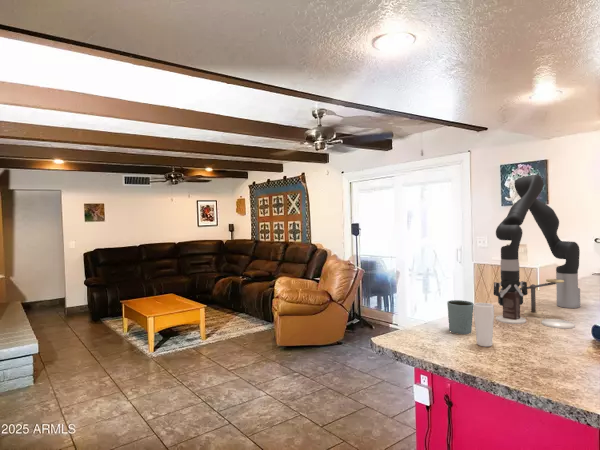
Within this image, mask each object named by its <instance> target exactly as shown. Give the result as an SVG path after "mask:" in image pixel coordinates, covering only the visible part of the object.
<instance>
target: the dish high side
mask: <svg viewBox="0 0 600 450" xmlns="http://www.w3.org/2000/svg"><path fill="white" fill-rule="evenodd" d="M541 325H543V326H545V327H549V328H554V329H574V328H576V324H575V322H573V321H569V320H564V319H558V318H545V319H544V318H543V319H541Z"/></svg>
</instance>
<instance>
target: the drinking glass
mask: <svg viewBox="0 0 600 450" xmlns="http://www.w3.org/2000/svg"><path fill="white" fill-rule="evenodd" d="M473 304H474V307H473V318H474V328H475V337H476V341H475V342H476V345H478V346H479V347H484V348H485V347H486V348H488V347H492V346H493V337H494V335H493V334H494V322H495V308H494V307H495V306H494V304H492V303H487V302H475V303H473Z"/></svg>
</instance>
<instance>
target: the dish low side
mask: <svg viewBox="0 0 600 450" xmlns="http://www.w3.org/2000/svg"><path fill="white" fill-rule="evenodd" d="M495 320H496V321H497V322H499V323H504V324H511V325H512V324H513V325H523V324H526V323H527V319H526V317H524V316H520V319H517V320H515V319H509V318H503V314H501V315H500V314H499V315H496V316H495Z"/></svg>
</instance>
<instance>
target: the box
mask: <svg viewBox="0 0 600 450" xmlns="http://www.w3.org/2000/svg"><path fill="white" fill-rule="evenodd" d="M502 315H503V318H509V319H515V320H517V319H520V317H521V305H520V294H519V292H512V291H511V292H506V294H504V296H503V306H502Z"/></svg>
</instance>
